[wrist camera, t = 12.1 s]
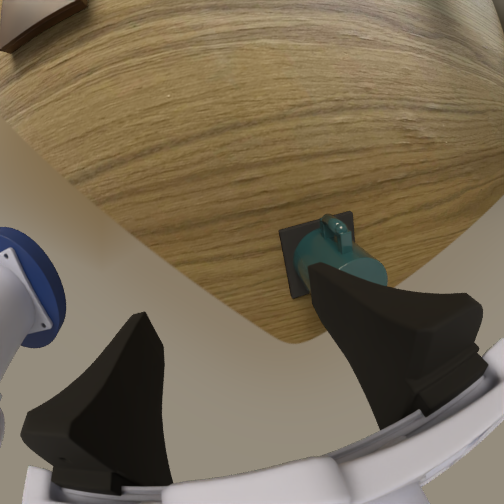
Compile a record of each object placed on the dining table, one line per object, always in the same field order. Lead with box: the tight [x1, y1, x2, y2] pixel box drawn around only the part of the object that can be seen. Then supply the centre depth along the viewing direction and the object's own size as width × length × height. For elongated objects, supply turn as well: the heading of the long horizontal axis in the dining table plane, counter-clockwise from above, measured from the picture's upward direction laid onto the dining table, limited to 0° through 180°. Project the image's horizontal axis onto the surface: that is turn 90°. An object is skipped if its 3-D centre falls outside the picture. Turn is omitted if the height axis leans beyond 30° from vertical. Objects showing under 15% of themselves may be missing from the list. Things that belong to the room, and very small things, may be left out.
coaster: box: [279, 211, 355, 298], centre depth 23 cm, size 6×6×1 cm
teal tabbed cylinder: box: [293, 214, 388, 295], centre depth 20 cm, size 5×8×6 cm
